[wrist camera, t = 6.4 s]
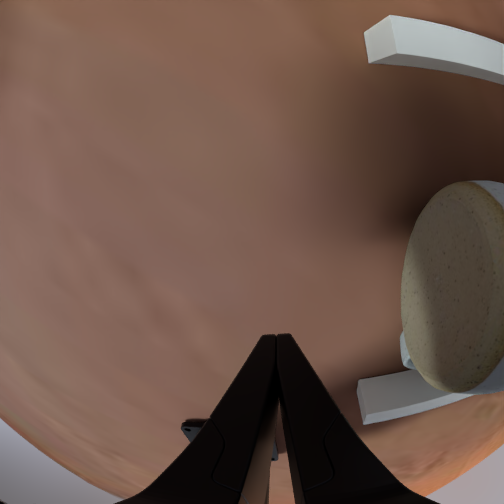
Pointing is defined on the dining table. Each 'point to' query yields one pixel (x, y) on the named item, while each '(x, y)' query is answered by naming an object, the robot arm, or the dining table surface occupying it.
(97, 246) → the dining table surface
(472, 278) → the ceramic mug
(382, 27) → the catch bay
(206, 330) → the dining table surface
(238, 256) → the dining table surface
